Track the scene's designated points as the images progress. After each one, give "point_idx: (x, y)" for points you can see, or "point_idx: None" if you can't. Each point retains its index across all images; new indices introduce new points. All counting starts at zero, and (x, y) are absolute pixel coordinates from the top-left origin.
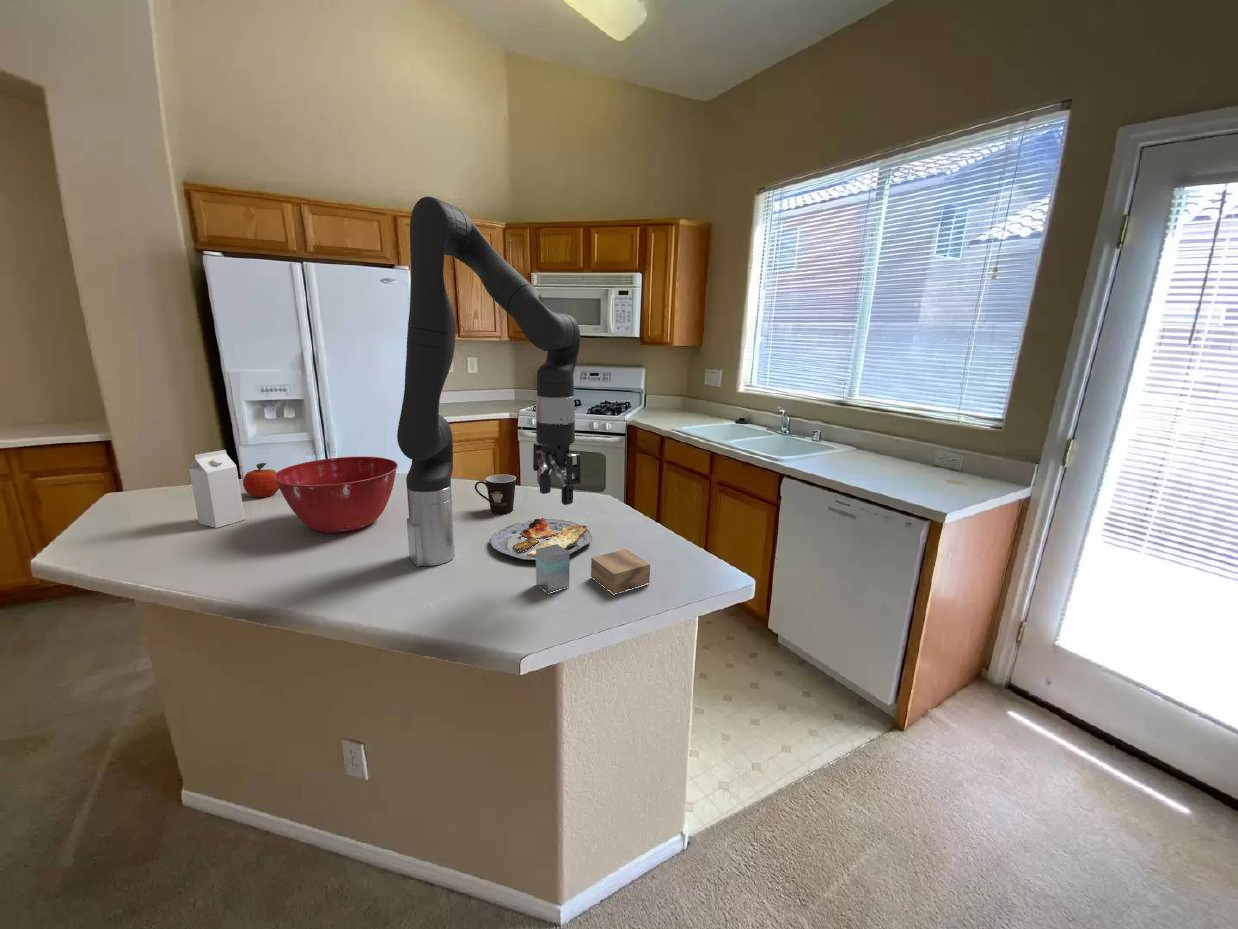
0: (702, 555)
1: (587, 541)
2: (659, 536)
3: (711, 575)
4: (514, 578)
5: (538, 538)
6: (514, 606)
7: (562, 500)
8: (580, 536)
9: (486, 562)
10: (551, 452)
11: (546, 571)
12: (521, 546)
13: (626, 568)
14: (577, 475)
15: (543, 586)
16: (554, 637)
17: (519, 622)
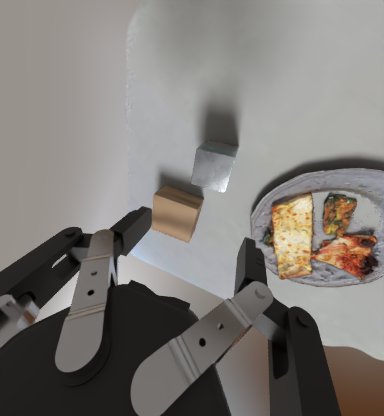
0: (171, 272)
1: None
2: (217, 289)
3: (146, 250)
4: (277, 136)
5: (334, 239)
6: (217, 84)
7: (141, 210)
8: (277, 261)
9: (367, 138)
10: (94, 401)
11: (205, 145)
12: (340, 208)
13: (156, 210)
14: (58, 268)
15: (219, 143)
16: (137, 81)
17: (182, 63)
